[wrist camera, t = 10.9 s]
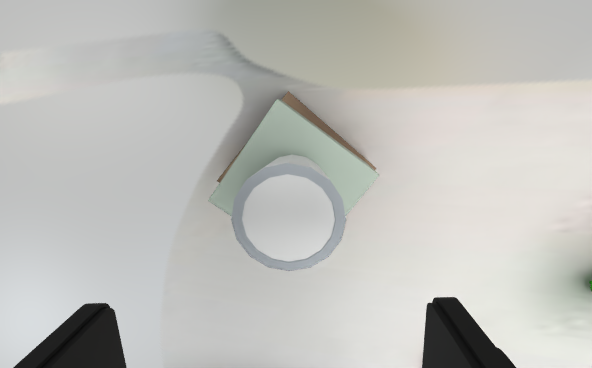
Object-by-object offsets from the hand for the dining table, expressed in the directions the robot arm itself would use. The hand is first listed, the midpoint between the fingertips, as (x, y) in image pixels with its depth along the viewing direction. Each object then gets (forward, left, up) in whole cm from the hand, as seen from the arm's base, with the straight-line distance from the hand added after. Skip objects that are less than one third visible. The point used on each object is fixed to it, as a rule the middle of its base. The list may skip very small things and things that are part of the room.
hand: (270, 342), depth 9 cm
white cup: (0, 0, -17) cm, 17 cm away
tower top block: (0, 0, -22) cm, 22 cm away
